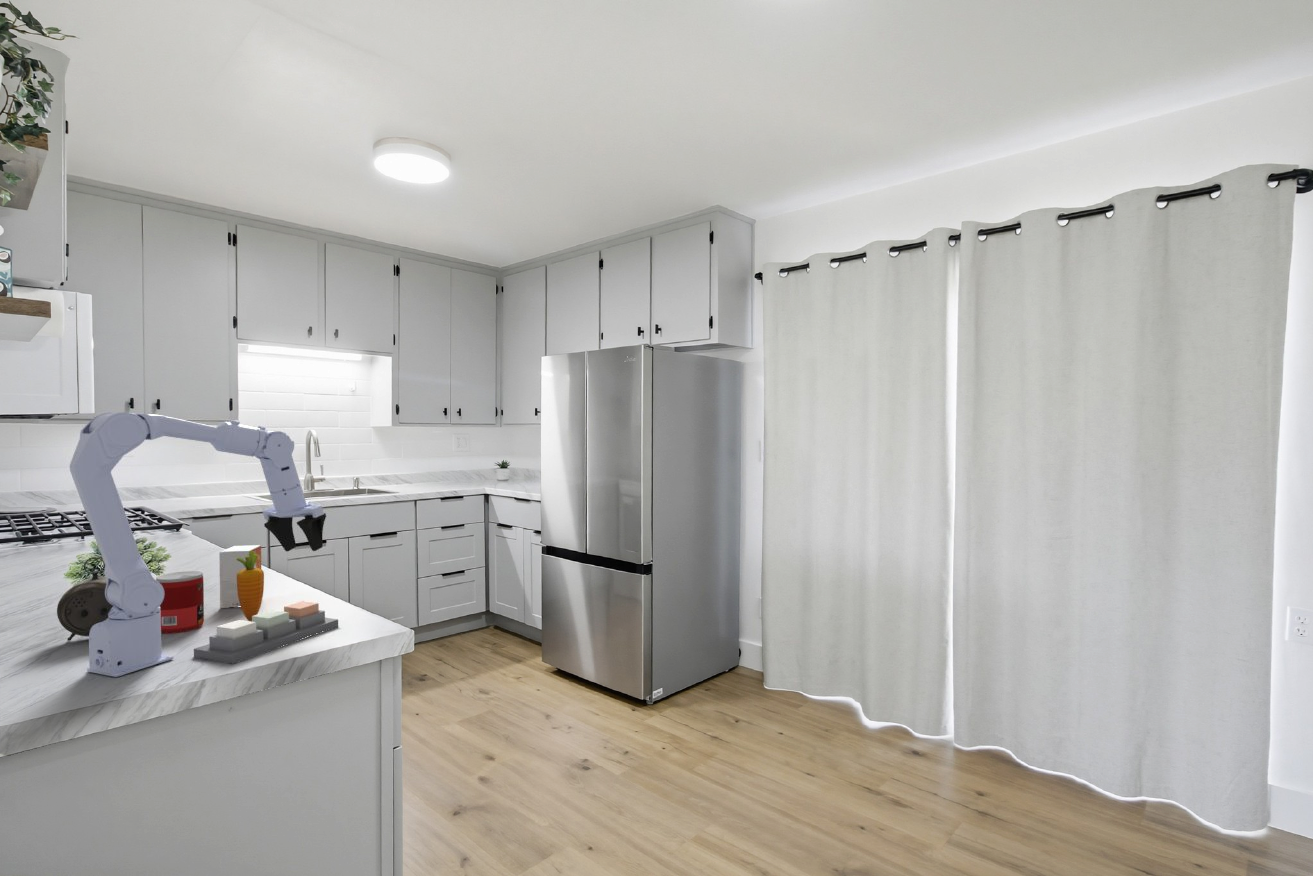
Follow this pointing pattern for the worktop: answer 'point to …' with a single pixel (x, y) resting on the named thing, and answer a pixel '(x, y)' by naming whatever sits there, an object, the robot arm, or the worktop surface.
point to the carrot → (250, 586)
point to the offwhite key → (236, 629)
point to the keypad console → (264, 639)
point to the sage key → (270, 618)
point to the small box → (234, 572)
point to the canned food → (182, 601)
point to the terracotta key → (302, 609)
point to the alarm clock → (84, 604)
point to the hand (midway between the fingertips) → (304, 549)
